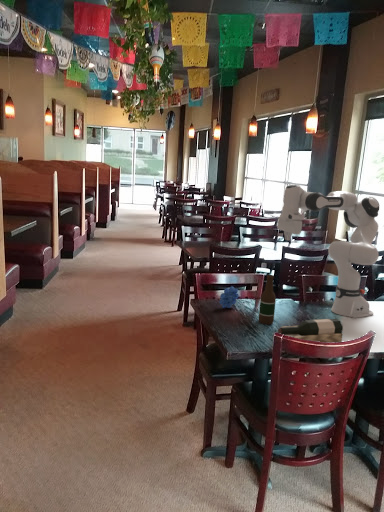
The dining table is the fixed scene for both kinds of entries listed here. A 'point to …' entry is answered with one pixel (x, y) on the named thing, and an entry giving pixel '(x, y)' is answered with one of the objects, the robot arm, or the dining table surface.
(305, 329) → the wine bottle
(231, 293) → the grapes
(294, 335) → the cradle
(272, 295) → the beer bottle
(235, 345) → the dining table surface
